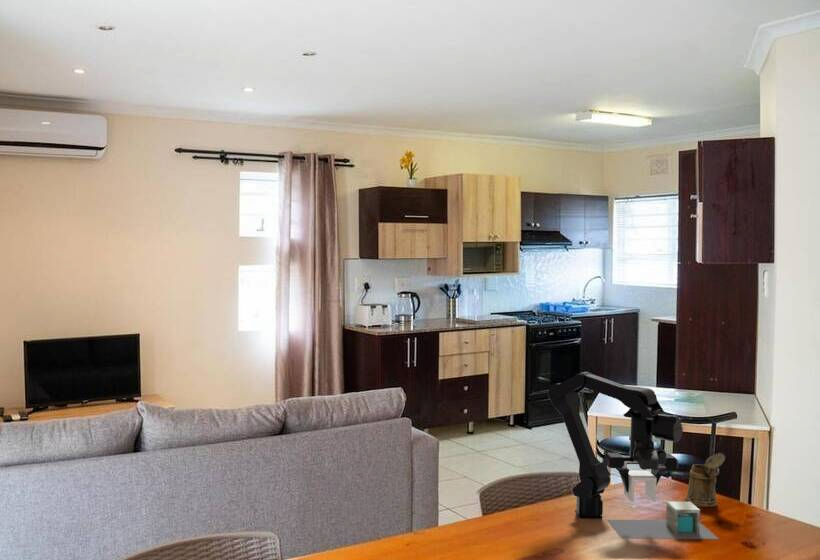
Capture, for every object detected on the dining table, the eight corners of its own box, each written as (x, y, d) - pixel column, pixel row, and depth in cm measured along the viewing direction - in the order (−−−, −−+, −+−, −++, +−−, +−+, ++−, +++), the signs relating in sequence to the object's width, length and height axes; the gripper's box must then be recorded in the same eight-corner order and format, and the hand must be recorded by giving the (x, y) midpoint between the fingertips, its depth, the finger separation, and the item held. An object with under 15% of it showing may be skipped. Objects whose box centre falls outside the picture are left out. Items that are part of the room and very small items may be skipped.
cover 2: (675, 533, 204) (675, 509, 203) (666, 524, 210) (666, 501, 210) (699, 533, 204) (700, 509, 203) (689, 524, 210) (690, 501, 210)
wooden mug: (703, 513, 221) (705, 452, 220) (679, 499, 234) (681, 441, 234) (731, 512, 222) (733, 451, 222) (705, 498, 236) (707, 440, 235)
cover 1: (631, 501, 203) (632, 477, 203) (623, 493, 210) (624, 470, 209) (655, 501, 203) (656, 477, 203) (647, 493, 210) (648, 470, 209)
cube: (678, 531, 205) (678, 516, 205) (672, 526, 209) (672, 511, 209) (692, 531, 205) (693, 516, 205) (686, 526, 209) (687, 511, 209)
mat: (621, 539, 199) (621, 538, 199) (606, 520, 213) (606, 519, 213) (718, 540, 200) (718, 538, 200) (697, 521, 214) (697, 520, 214)
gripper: (616, 442, 197) (614, 501, 198) (687, 443, 198) (685, 502, 199) (604, 432, 209) (602, 488, 209) (671, 433, 209) (669, 489, 210)
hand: (639, 492), depth 206 cm, fingers closed on cover 1, 7 cm apart
